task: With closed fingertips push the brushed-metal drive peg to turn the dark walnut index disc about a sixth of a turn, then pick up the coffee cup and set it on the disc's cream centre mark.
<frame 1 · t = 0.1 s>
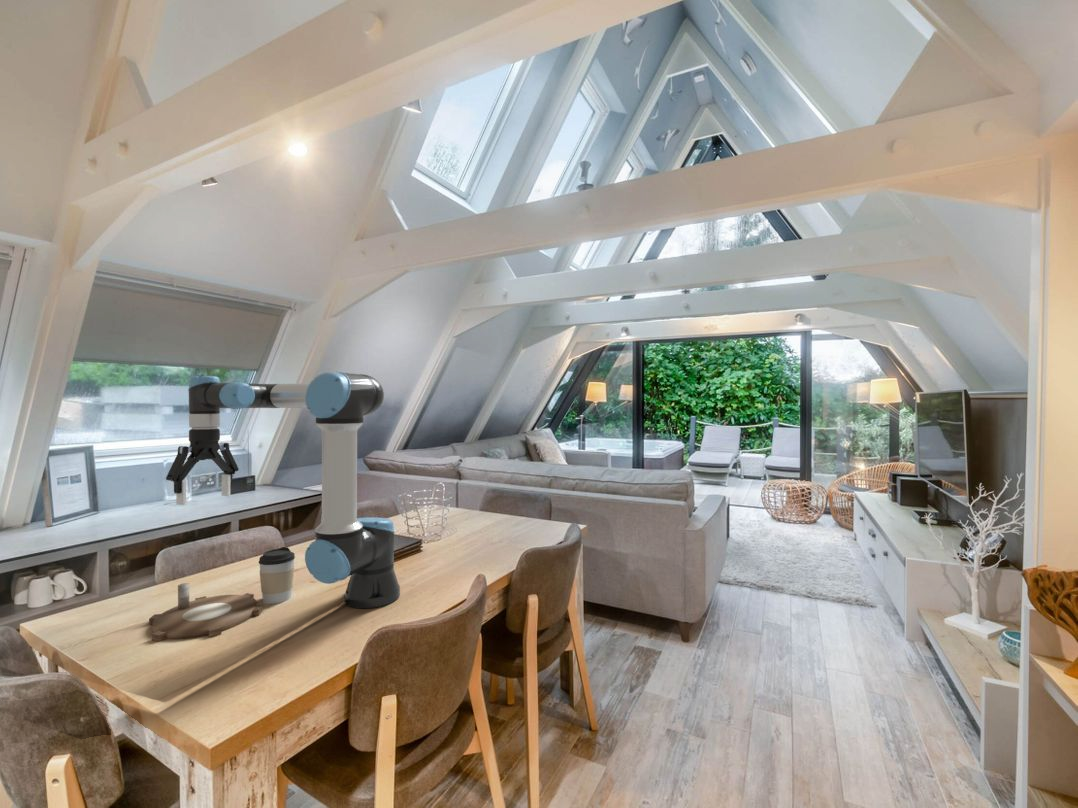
hand: (204, 499, 142), 28 cm above the table, fingers open, 13 cm apart
index disc: (207, 603, 123), point 5 cm above the table, hinge at 0.0°
coffee cup: (277, 604, 135), on the table
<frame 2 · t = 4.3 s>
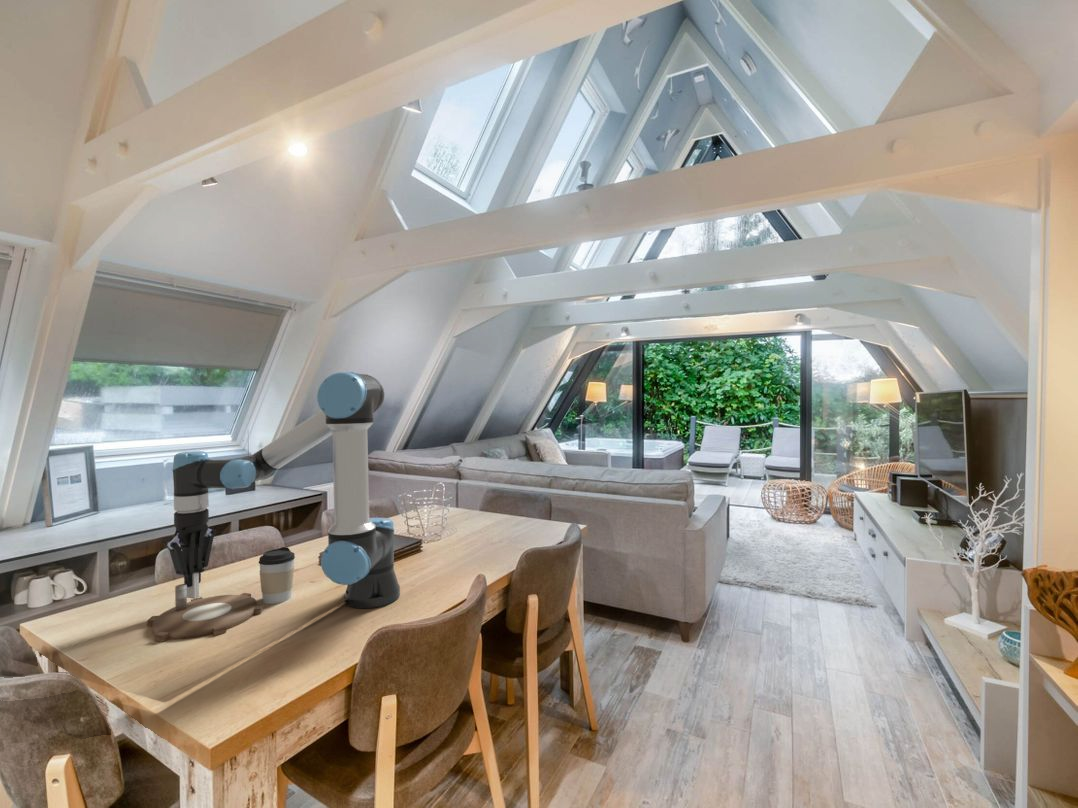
hand: (192, 597, 129), 5 cm above the table, fingers closed
index disc: (207, 603, 123), point 5 cm above the table, hinge at 4.7°, touching gripper
everything else where it was.
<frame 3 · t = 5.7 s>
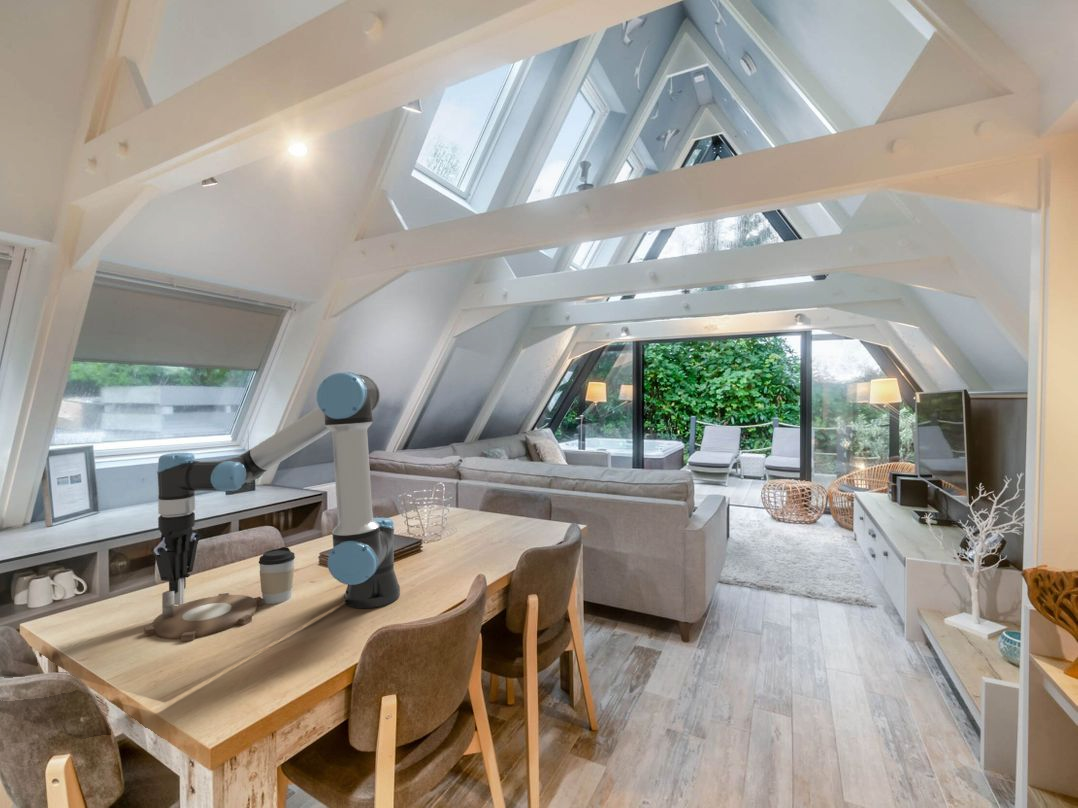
hand: (177, 603, 124), 5 cm above the table, fingers closed
index disc: (207, 603, 123), point 5 cm above the table, hinge at 35.0°, touching gripper
everything else where it was.
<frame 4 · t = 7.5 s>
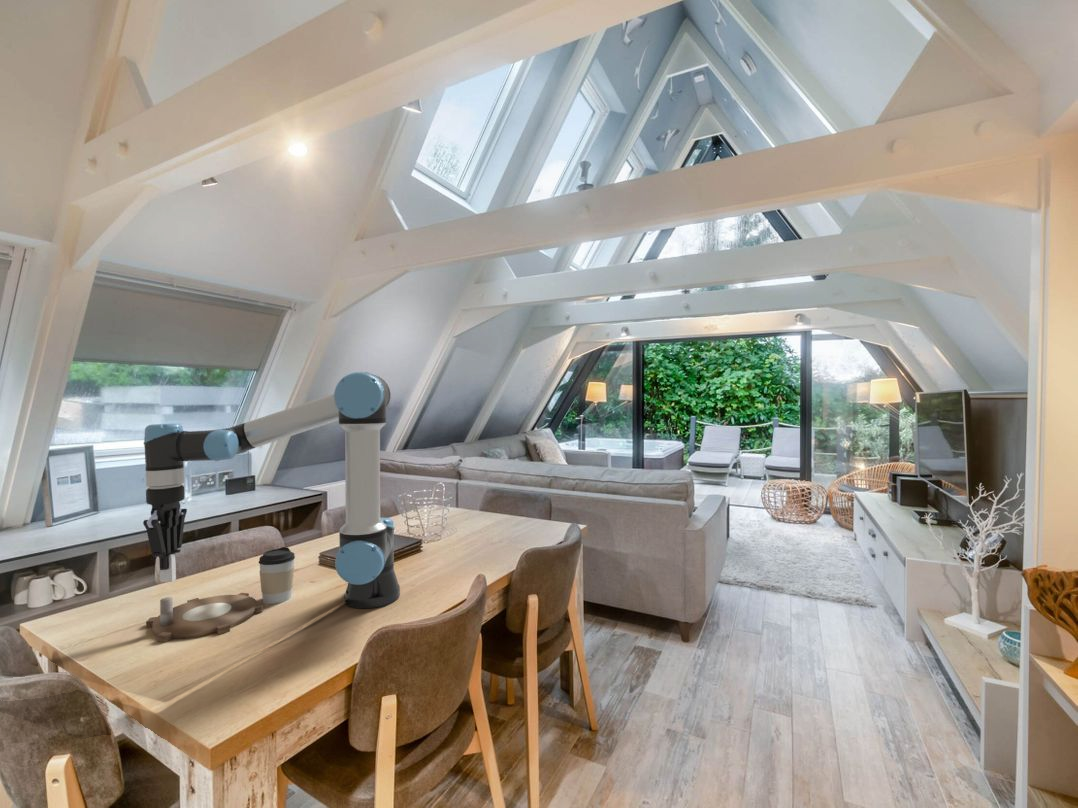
hand: (168, 580, 119), 13 cm above the table, fingers closed
index disc: (207, 603, 123), point 5 cm above the table, hinge at 68.4°
everything else where it was.
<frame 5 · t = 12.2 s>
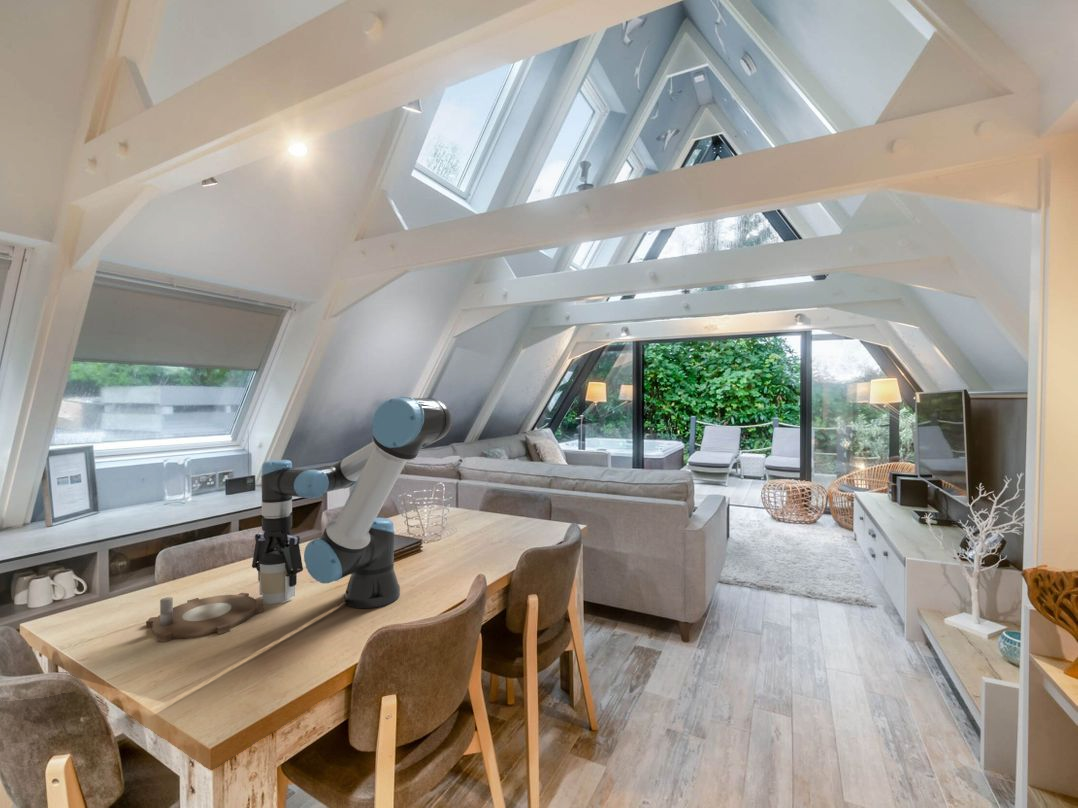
hand: (277, 595, 135), 2 cm above the table, fingers closed on coffee cup, 9 cm apart
coffee cup: (277, 604, 135), on the table, touching gripper
everything else where it was.
when the fingers open (7 cm above the table, at t = 17.6 s): coffee cup drops 1 cm, resting on index disc.
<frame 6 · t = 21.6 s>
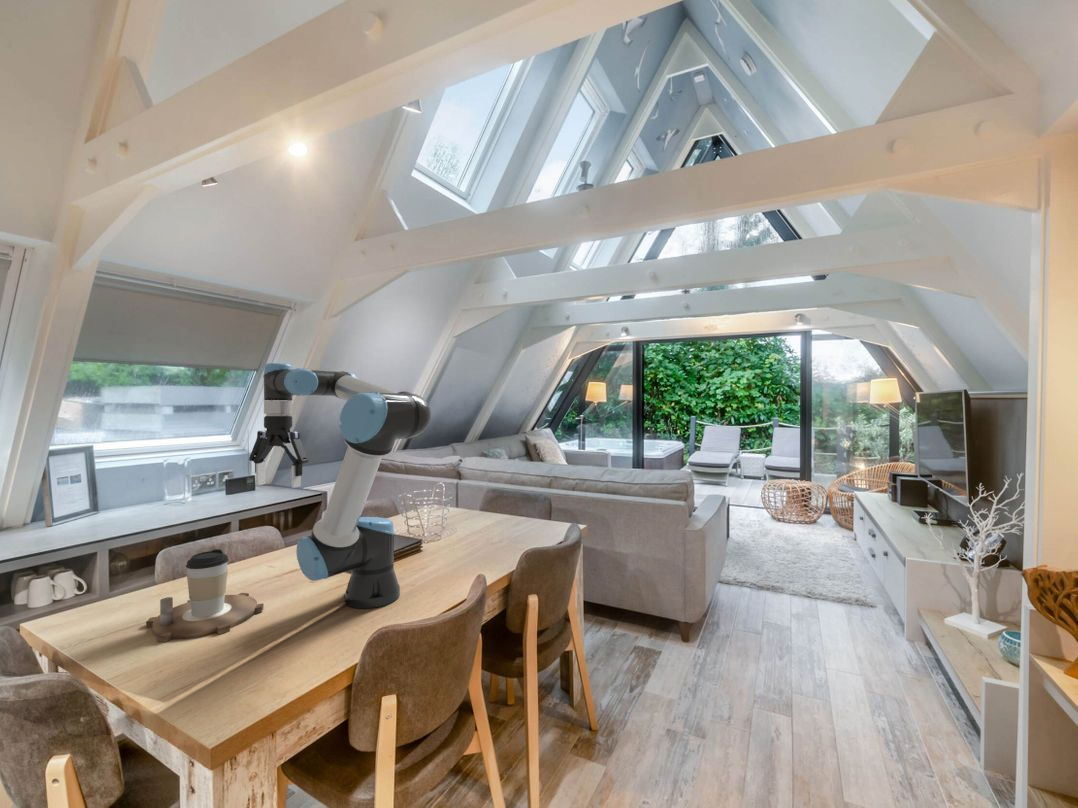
hand: (278, 485, 144), 32 cm above the table, fingers open, 13 cm apart
index disc: (207, 603, 123), point 5 cm above the table, hinge at 68.4°, touching coffee cup
coffee cup: (207, 612, 123), point 3 cm above the table, touching index disc
at the end: index disc at +68° (first picture: +0°); coffee cup 0.1 cm from the index disc (horizontally); coffee cup tilted 0° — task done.
